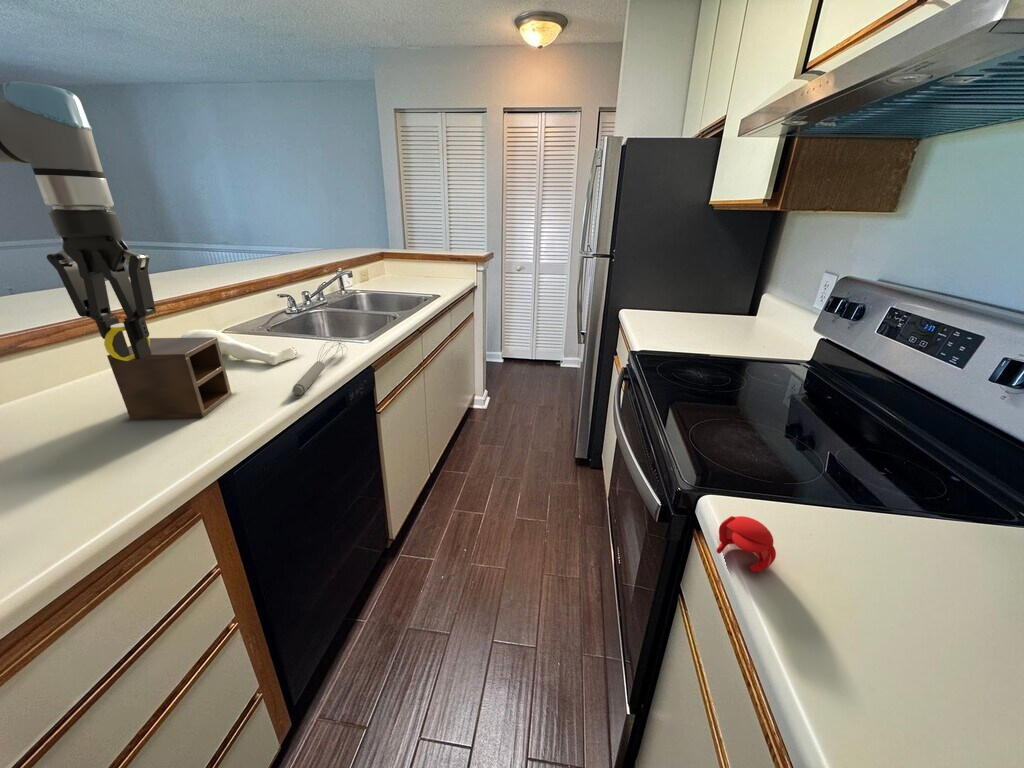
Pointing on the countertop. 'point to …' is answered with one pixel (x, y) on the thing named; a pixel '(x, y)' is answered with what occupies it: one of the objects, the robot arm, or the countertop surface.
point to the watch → (109, 340)
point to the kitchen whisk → (313, 373)
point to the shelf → (173, 379)
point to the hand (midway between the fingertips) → (132, 356)
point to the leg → (243, 348)
